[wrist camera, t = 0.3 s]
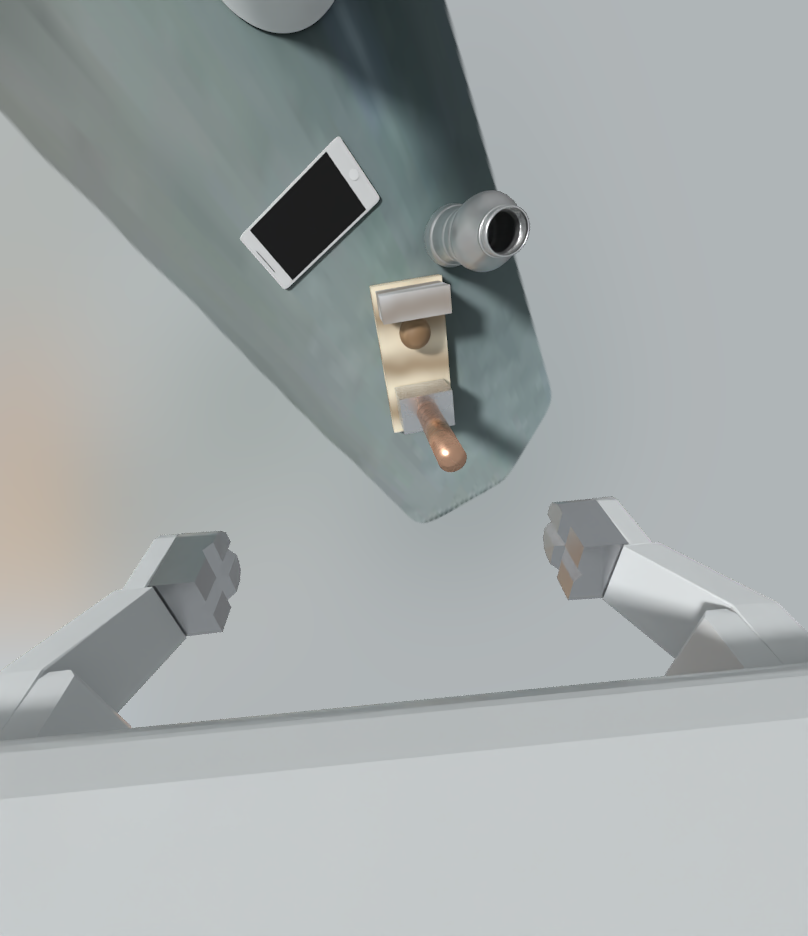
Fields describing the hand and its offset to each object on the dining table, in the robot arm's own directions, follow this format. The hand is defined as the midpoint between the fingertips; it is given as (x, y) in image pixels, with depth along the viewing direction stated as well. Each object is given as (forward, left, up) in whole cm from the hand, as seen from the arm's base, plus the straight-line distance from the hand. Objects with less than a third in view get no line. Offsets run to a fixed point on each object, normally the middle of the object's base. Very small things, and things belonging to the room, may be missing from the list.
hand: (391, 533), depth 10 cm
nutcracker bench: (+9, +7, -47) cm, 48 cm away
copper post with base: (+14, +7, -44) cm, 47 cm away
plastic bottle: (-5, +13, -47) cm, 49 cm away
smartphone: (-9, -3, -47) cm, 48 cm away
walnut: (+4, +7, -45) cm, 45 cm away
